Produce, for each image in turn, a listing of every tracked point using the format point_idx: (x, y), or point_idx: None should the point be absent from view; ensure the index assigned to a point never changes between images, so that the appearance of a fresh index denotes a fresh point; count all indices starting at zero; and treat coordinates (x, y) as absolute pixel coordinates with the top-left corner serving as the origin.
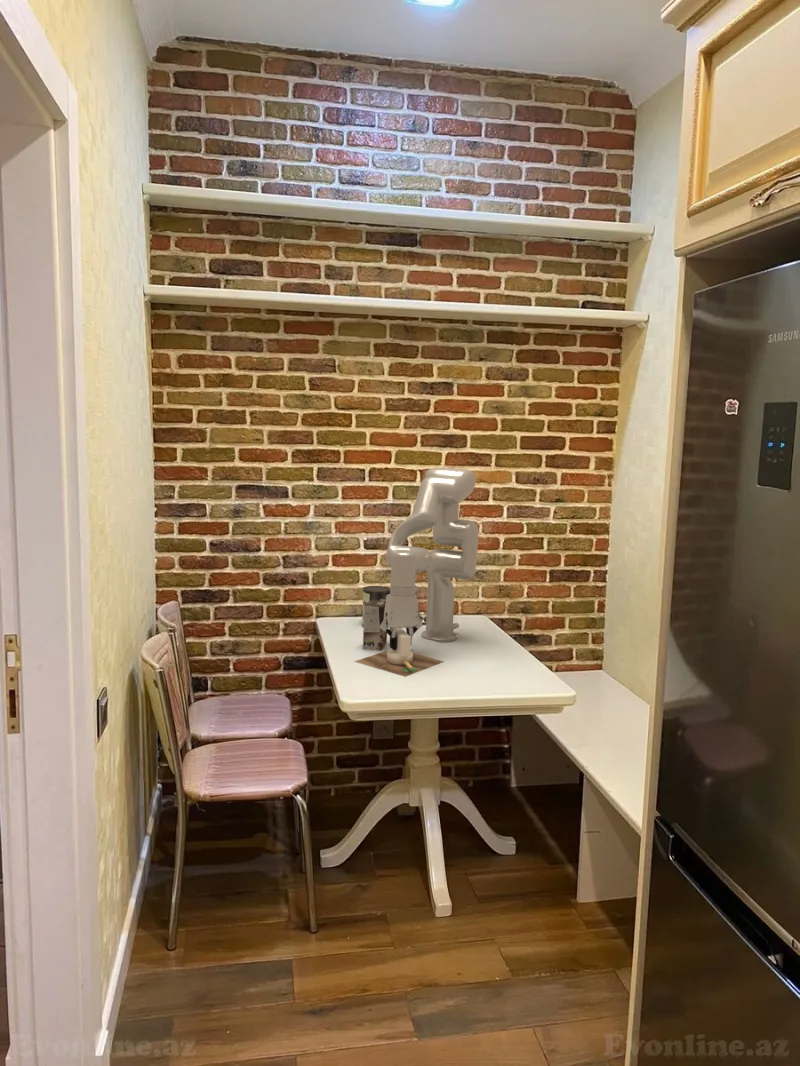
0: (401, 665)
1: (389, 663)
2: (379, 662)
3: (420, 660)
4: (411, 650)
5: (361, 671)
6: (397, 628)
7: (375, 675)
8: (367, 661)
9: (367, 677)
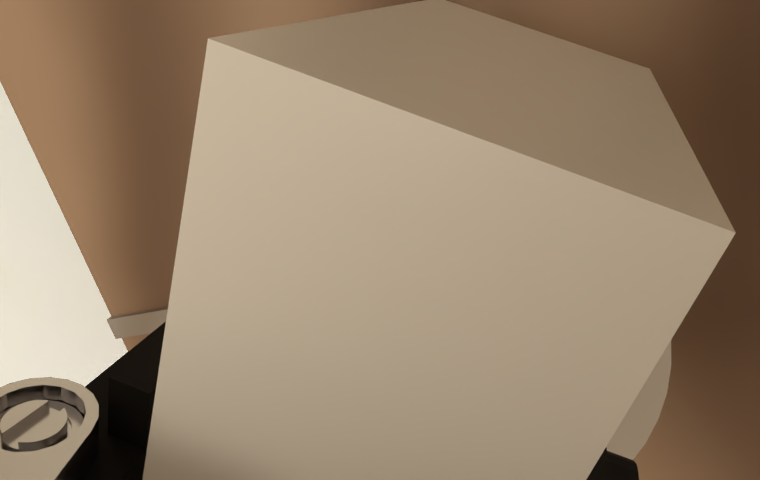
0: None
1: None
2: None
3: (757, 403)
4: (631, 430)
5: (24, 154)
6: (434, 307)
7: (107, 316)
8: (81, 43)
9: (31, 314)
